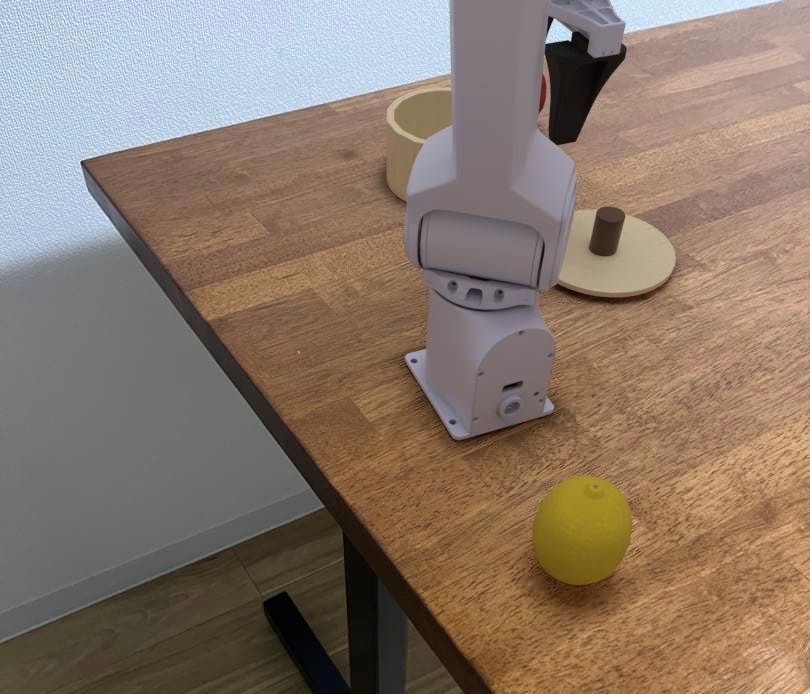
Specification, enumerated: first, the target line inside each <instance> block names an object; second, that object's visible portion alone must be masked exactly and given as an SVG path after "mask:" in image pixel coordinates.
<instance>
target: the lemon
mask: <svg viewBox="0 0 810 694" xmlns="http://www.w3.org/2000/svg"><path fill="white" fill-rule="evenodd" d="M632 529H633V517H632V513H631V508H630V505H629V503H628V501H627V499H626V497H625V495H624V494H623V492H622V491H621V490H620V489H619V488H618V487H617V486H616V485H614V484H613V483H612V482H610V481H609V480H606V479H605V478H601V477H598V476H595V475H578V476H577V475H576V476H573V477H569V478H566V479H564V480H562V481H560V482H559V483H558V484H557V485H555V486H554V487H552V488H551V490H550V491H549V493H547V495H546V496H545V497H544V499H542V501H541V503H540V505H539V507H538V509H537V511H536V514H535V516H534V520H533V523H532V533H531V542H532V543H531V544H532V548H533V551H534V554H535V555H534V556H535V557H536V560H537V562H538V563H539V564H540V566H541V568H542V569H543V570H544V571H545V572H546V573H547V574H548V575H549V576H551V577H552V578H553V579H555V580H557V581H560V582H561V583H562V582H563V583H564V584H568V585H574V586H586V585H590V584H594V583H597V582H599V581H601V580H604V579H605V578H606V577H608V576H610V574H611V573H613V572H614V570H616V568H617V567H619V565H620V564H621V563H622V561H623V559H624V557H625V555H626V554H627V552H628V549H629V546H630V543H631V538H632V537H631V536H632Z"/></svg>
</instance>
